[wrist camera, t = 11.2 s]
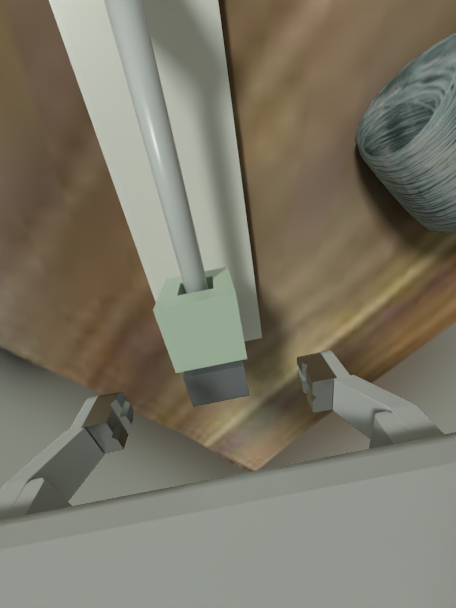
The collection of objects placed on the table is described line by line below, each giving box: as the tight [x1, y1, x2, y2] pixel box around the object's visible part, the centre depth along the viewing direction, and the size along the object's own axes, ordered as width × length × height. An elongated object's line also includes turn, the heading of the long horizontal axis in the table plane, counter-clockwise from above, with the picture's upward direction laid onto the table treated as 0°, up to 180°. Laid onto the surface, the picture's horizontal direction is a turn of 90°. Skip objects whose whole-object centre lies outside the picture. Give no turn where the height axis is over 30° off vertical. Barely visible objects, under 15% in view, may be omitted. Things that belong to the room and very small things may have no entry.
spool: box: [355, 32, 456, 233], centre depth 17 cm, size 14×10×10 cm
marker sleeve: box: [153, 267, 247, 373], centre depth 17 cm, size 5×5×5 cm
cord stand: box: [49, 0, 262, 407], centre depth 16 cm, size 10×30×10 cm, turn 10°
